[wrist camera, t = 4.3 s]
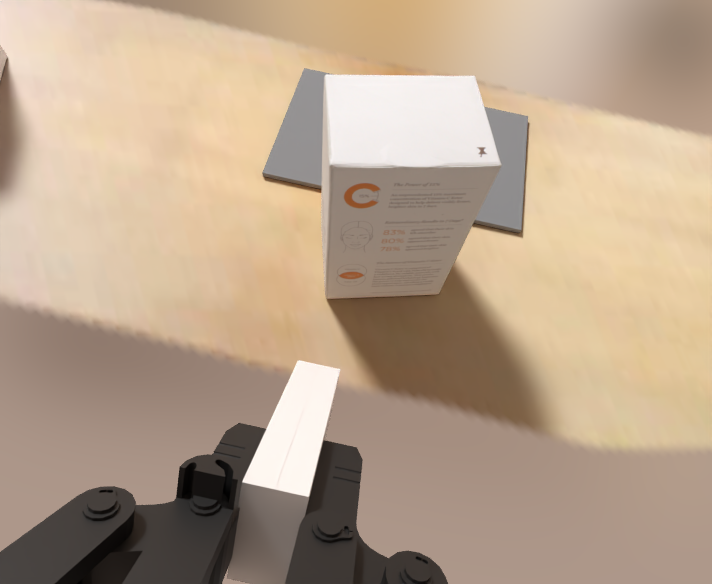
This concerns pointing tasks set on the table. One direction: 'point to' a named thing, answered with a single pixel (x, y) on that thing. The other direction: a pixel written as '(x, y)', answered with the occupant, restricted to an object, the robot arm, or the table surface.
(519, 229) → the mat
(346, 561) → the robot arm
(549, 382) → the table surface
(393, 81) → the small box
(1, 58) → the skincare box
